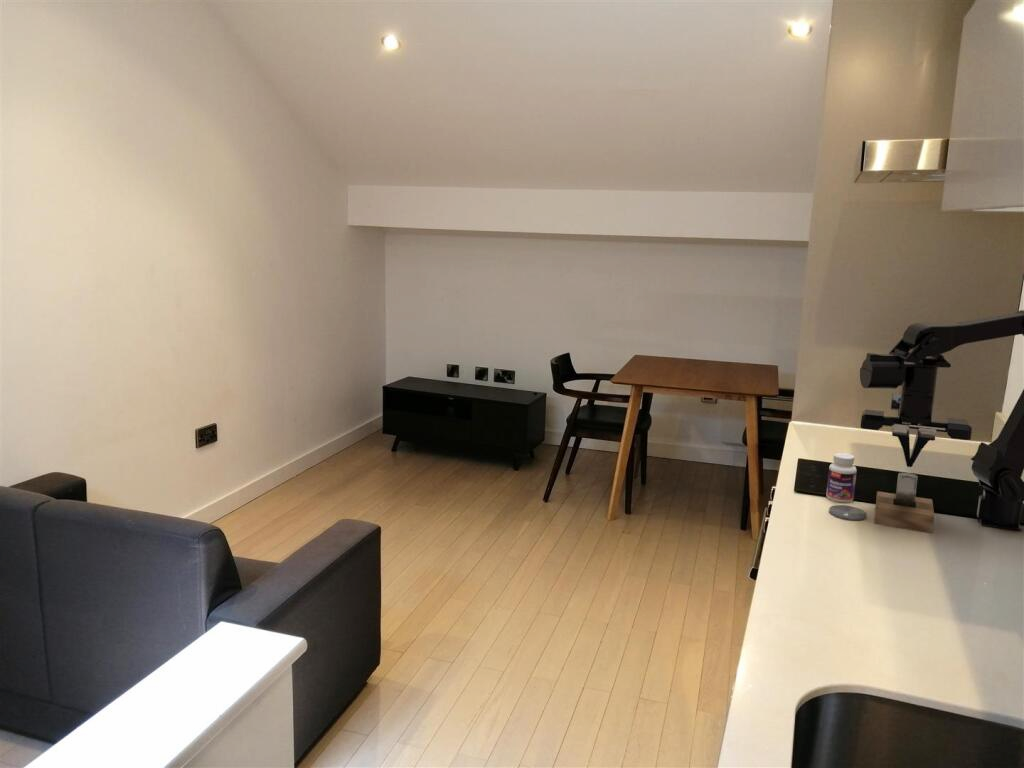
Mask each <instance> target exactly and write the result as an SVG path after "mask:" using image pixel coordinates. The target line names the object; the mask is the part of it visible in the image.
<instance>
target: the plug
mask: <svg viewBox="0 0 1024 768" xmlns="http://www.w3.org/2000/svg"><path fill="white" fill-rule="evenodd" d="M918 478H919V476H918V475H916V474H915V473H911V472H898V475H897V480H896V481H897V483H896V491H895V494H896V498H895V504H897V505H899V506H906V507H913V506H914V503H915V497H916V493H917V485H918Z"/></svg>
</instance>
